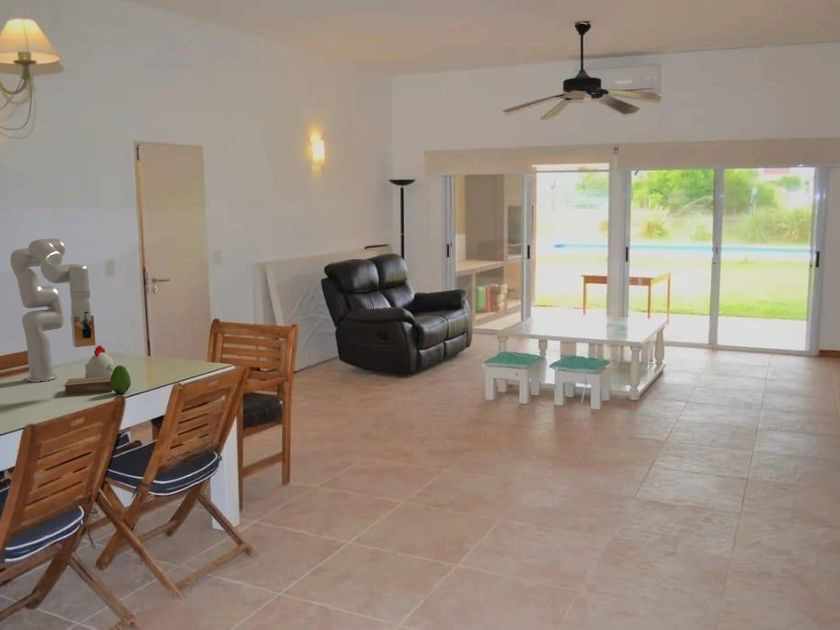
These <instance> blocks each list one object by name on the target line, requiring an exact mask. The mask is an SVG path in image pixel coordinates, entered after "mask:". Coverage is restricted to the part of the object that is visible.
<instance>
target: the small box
mask: <svg viewBox="0 0 840 630" xmlns="http://www.w3.org/2000/svg"><path fill="white" fill-rule="evenodd" d="M83 321H87V320H86V319H85V320H83ZM94 321H95V318H94V314H92V313H91V325H90V326H91V338H83V330H82V329H83V325H82V322H81V323H79V322H78V317H77V316H74V315H72V314H71V315H70V322H71V335H72V337H71V338H72V345H73V347H75V348H83V347H92V346H96V345H97V343H96V333H95V322H94ZM84 324H86V323H84Z"/></svg>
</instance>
